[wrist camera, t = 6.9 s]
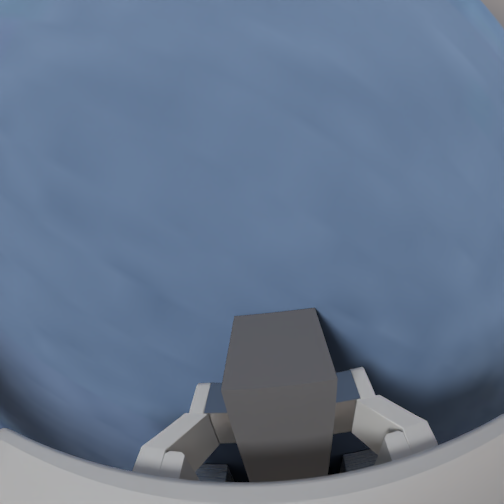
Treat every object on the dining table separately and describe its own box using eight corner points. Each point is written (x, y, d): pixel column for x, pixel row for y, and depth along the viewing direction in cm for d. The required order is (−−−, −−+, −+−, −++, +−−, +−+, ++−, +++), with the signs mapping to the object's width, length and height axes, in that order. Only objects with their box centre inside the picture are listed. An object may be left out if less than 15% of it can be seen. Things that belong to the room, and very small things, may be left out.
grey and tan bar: (208, 318, 11) (175, 416, 6) (340, 304, 10) (385, 397, 6) (264, 513, 17) (263, 558, 12) (322, 508, 16) (327, 553, 12)
